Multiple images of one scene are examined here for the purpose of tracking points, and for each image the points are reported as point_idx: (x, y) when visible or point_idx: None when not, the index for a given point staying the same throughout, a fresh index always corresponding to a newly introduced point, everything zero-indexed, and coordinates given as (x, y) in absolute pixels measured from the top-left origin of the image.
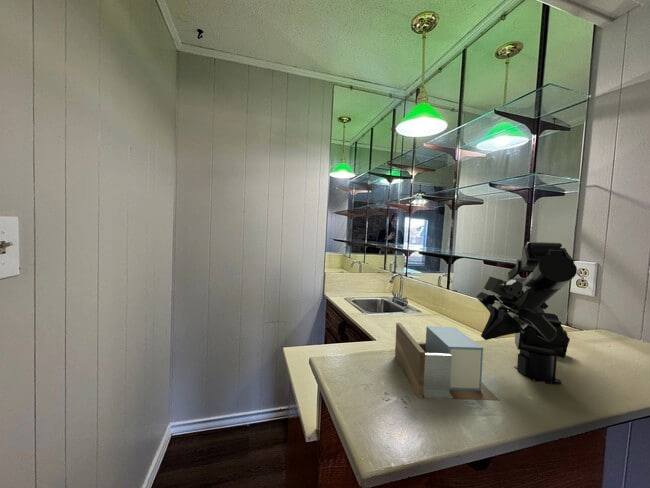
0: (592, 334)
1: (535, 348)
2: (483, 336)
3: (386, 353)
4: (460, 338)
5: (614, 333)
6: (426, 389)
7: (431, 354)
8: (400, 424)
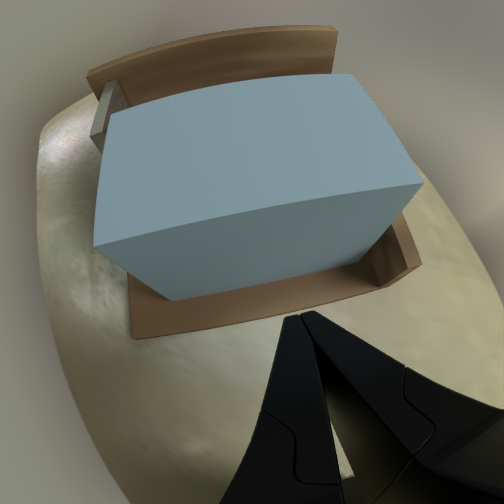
0: None
1: None
2: (284, 320)
3: None
4: (215, 160)
5: None
6: None
7: (103, 94)
8: (83, 137)
